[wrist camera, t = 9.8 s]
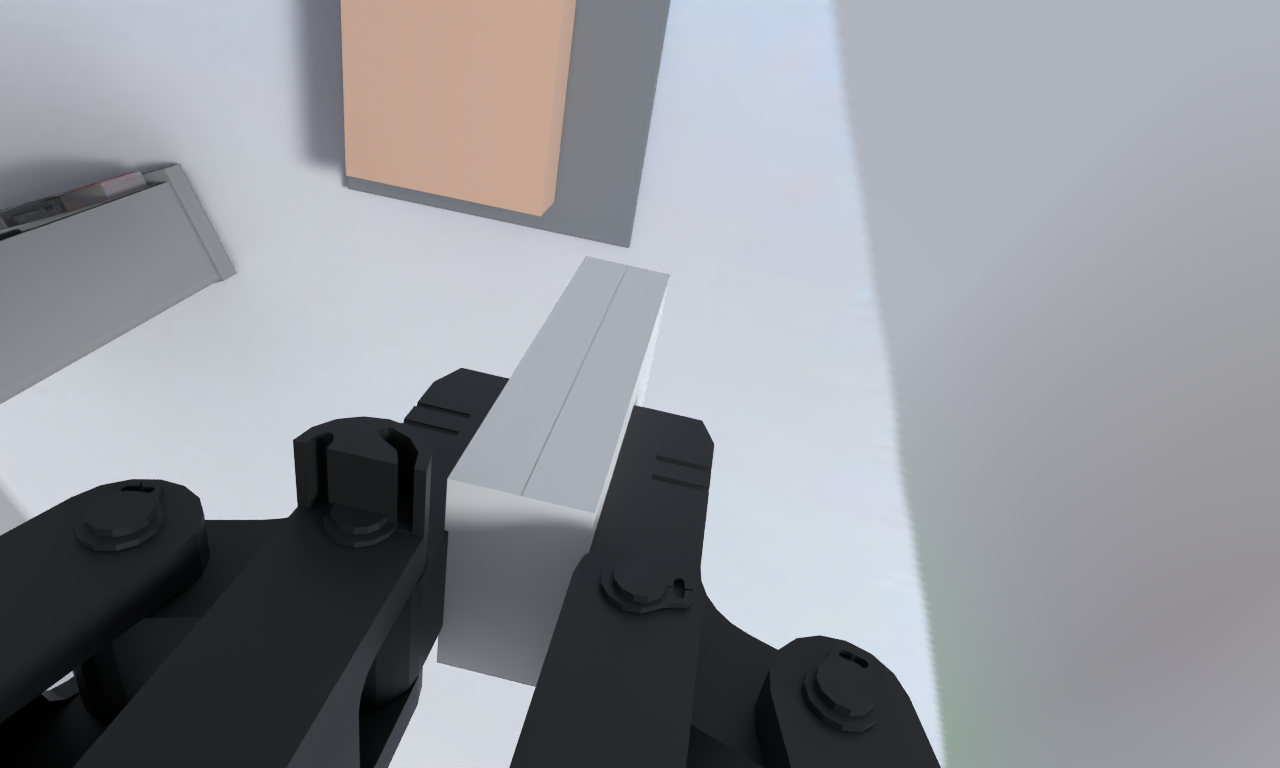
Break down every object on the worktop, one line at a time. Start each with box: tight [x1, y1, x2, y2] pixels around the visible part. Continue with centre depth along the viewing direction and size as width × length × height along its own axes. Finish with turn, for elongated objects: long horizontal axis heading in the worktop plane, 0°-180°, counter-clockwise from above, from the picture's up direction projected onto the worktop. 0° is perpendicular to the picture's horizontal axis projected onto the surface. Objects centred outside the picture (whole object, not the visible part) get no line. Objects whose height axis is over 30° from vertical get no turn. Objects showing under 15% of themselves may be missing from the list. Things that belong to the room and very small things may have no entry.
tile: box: [341, 0, 576, 216], centre depth 32 cm, size 2×9×9 cm
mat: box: [348, 0, 670, 248], centre depth 34 cm, size 14×12×1 cm
